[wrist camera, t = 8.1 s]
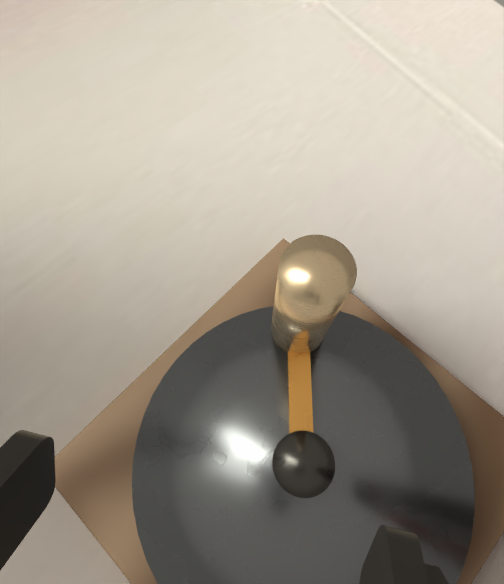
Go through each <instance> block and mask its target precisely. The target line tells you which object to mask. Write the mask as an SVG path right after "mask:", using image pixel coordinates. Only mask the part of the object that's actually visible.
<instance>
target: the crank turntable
mask: <svg viewBox="0 0 504 584" xmlns="http://www.w3.org/2000/svg"><path fill="white" fill-rule="evenodd" d="M356 275H357V268H356V263H355V260H354V258H353V256H352V254H351V253H350V251H349V250H348V249H347V248H346V247H345V246H344V245H343V244H342V243H340V242H339V241H337V240H335V239H333V238H331V237H327V236H323V235H308V236H304V237H301V238H298V239H296V240H295V241H293V242H292V243H290V244H289V245H288V246H287V247H286V249H285V250H284V251H283V253H282V255H281V258H280V261H279V267H278V275H277V283H276V292H275V300H274V306H271V307H265V308H259V309H256V310H253V311H250V312H246V313H243V314H240V315H238V316H236V317H233V318H231V319H229V320H227V321H225V322H222V323H221V324H219V325H218V326H216V327H214V328H213V329H211V330H209V331H208V332H206V333H205V334H204V335H202V336H201V337H200V338H199V339H197V340H196V341H195V342H194V343H192V344H191V345H190V346H189V347H188V348H187V349H186V350H185V351H184V352H183V353H182V354H181V355H180V356H179V357H178V358H177V359H176V360H175V362H174V363H173V364H172V366H171V367H170V368H169V370H168V371H167V372H166V374H165V375H164V376H163V378H162V379H161V381H160V383H159V385H158V386H157V388H156V390H155V391H154V393H153V395H152V397H151V399H150V402H149V404H148V406H147V409H146V411H145V413H144V415H143V419H142V422H141V425H140V429H139V432H138V435H137V440H136V446H135V451H134V457H133V468H132V498H133V511H134V516H135V521H136V527H137V532H138V536H139V539H140V542H141V545H142V548H143V552H144V555H145V558H146V561H147V563H148V565H149V567H150V569H151V571H152V573H153V575H154V577H155V580H156V582H157V584H360V576H361V570H362V566H363V564H364V561H365V559H366V556H367V554H368V552H369V549H370V547H371V544H372V542H373V540H374V537H375V535H376V533H377V530H378V528H379V526H380V525H386V526H390V527H394V528H397V529H401V530H405V531H409V532H413V533H415V534H416V535H417V537H418V539H419V542H420V546H421V550H422V555H423V559H424V563H425V564H429V565H433V566H437V567H439V568H440V570H441V571H442V573H443V575H444V576H445V578H446V580H447V581H448V583H449V584H457V581H458V579H459V577H460V574H461V572H462V570H463V567H464V565H465V561H466V557H467V553H468V550H469V546H470V542H471V537H472V530H473V522H474V508H475V489H474V480H473V471H472V464H471V459H470V455H469V451H468V447H467V442H466V439H465V437H464V434H463V431H462V428H461V425H460V423H459V420H458V418H457V416H456V414H455V412H454V410H453V408H452V406H451V404H450V401H449V399H448V398H447V396H446V395H445V393H444V391H443V390H442V388H441V387H440V385H439V384H438V382H437V381H436V379H435V378H434V377H433V375H432V374H431V373H430V372H429V371H428V369H427V368H426V367H425V366H424V364H423V363H422V362H421V361H420V360H419V359H418V358H417V357H416V356H415V355H414V354H413V353H412V352H411V351H410V350H409V349H408V348H407V347H405V346H404V345H403V344H402V343H400V342H399V341H398V340H396V339H395V338H394V337H393V336H391V335H390V334H388V333H387V332H385V331H383V330H382V329H380V328H378V327H377V326H375V325H373V324H372V323H370V322H367V321H365V320H363V319H361V318H359V317H356V316H354V315H351V314H348V313H345V312H342V311H340V309H341V307H342V305H343V304H344V302H345V300H346V298H347V297H348V295H349V293H350V291H351V290H352V288H353V286H354V284H355V281H356Z"/></svg>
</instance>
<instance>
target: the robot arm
mask: <svg viewBox="0 0 504 584" xmlns="http://www.w3.org/2000/svg"><path fill="white" fill-rule="evenodd" d="M55 482H56V478H55V456H54V441H53V439H52V438H51V437H47V436H44V435H40V434H36V433H32V432H28V431H24V430H21V431H18V432H16V433H15V434H14V435H13V436H12V437H11V438H10V439H9V440H8V441H7V442H6V443H5V444H4V445H3V446H2V447H1V448H0V570H1V569H2V567H3V566H4V565H5V563H6V562H7V561H8V559H9V558H10V556H11V555H12V554H13V552H14V551H15V550H16V548H17V547H18V545H19V544H20V543H21V541H22V540H23V539H24V537H25V536H26V534H27V533H28V532H29V530H30V529H31V528H32V526H33V525H34V523H35V522H36V521H37V519H38V518H39V516H40V515H41V514H42V512H43V511H44V510H45V508H46V507H47V505H48V503H49V501H50V499H51V497H52V494H53V491H54V488H55ZM360 584H449V583H448V581H447V580H446V578H445V576H444V575H443V573H442V571H441V570H440V568H439V567H437V566H433V565H429V564H425V563H424V559H423V555H422V550H421V546H420V542H419V539H418V537H417V535H416V534H415V533H413V532H409V531H405V530H401V529H397V528H394V527H390V526H386V525H380V526H379V528H378V530H377V533H376V535H375V537H374V540H373V542H372V544H371V547H370V549H369V552H368V554H367V556H366V559H365V561H364V564H363V566H362V570H361V576H360Z"/></svg>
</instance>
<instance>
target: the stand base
mask: <svg viewBox="0 0 504 584" xmlns="http://www.w3.org/2000/svg"><path fill="white" fill-rule="evenodd" d="M289 244H290V243H289V242H287V241H286V240H285V239H284V238H283V239H282V240H281V241H280V242H279V243H278V244H277V245H276V246H275V247H274V248H273V249H272V250H271V251H270V252H269V253H268V254H267V255H266V256H265V257H264V258H263V259H261V260H260V261H259V262H258V263H257V264H256V265H255V266H254V267H253V268H252V269H251V270H250V271H249V272H248V273H247V274H246V275H245V276H244V277H243V278H242V279H241V280H240V281H238V282H237V283H236V284H235V285H234V286H233V287H232V288H231V289H230V290H229V291H228V292H227V293H226V294H225V295H224V296H223V297H222V298H221V299H220V300H219V301H218V302H216V303H215V304H214V305H213V306H212V307H211V308H210V309H209V310H208V311H207V312H206V313H205V314H204V315H203V316H202V317H201V318H200V319H199V320H198V321H197V322H196V323H195V324H193V325H192V326H191V327H190V328H189V329H188V330H187V331H186V332H185V333H184V334H183V335H182V336H181V337H180V338H179V339H178V340H177V341H176V342H175V343H174V344H173V345H171V346H170V347H169V348H168V349H167V350H166V351H165V352H164V353H163V354H162V355H161V356H160V357H159V358H158V359H157V360H156V361H155V362H154V363H153V364H152V365H151V366H150V367H148V368H147V369H146V370H145V371H144V372H143V373H142V374H141V375H140V376H139V377H138V378H137V379H136V380H135V381H134V382H133V383H132V384H131V385H130V386H129V387H128V388H126V389H125V390H124V391H123V392H122V393H121V394H120V395H119V396H118V397H117V398H116V399H115V400H114V401H113V402H112V403H111V404H110V405H109V406H108V407H107V408H106V409H105V410H103V411H102V412H101V413H100V414H99V415H98V416H97V417H96V418H95V419H94V420H93V421H92V422H91V423H90V424H89V425H88V426H87V427H86V428H85V429H84V430H83V431H81V432H80V433H79V434H78V435H77V436H76V437H75V438H74V439H73V440H72V441H71V442H70V443H69V444H68V445H67V446H66V447H65V448H64V449H63V450H62V451H61V452H60V453H58V454H57V455H56V456H55V478H56V482H55V487H56V489H57V490H58V491H59V492H60V494H61V495H62V496H63V497H64V499H65V500H66V501H67V503H68V504H69V505H70V506H71V508H72V509H73V510H74V511H75V513H76V514H77V515H78V517H79V518H80V519H81V520H82V522H83V523H84V524H85V525H86V527H87V528H88V529H89V530H90V532H91V533H92V534H93V536H94V537H95V538H96V539H97V541H98V542H99V543H100V544H101V546H102V547H103V548H104V550H105V551H106V552H107V553H108V555H109V556H110V557H111V558H112V560H113V561H114V562H115V564H116V565H117V566H118V567H119V569H120V570H121V571H122V572H123V574H124V575H125V576H126V578H127V579H128V580H129V581H130V583H131V584H157V582H156V580H155V577H154V575H153V573H152V571H151V569H150V567H149V565H148V563H147V561H146V558H145V555H144V552H143V548H142V545H141V542H140V539H139V536H138V532H137V527H136V521H135V516H134V511H133V498H132V468H133V457H134V451H135V446H136V440H137V435H138V432H139V429H140V425H141V422H142V419H143V415H144V413H145V411H146V409H147V406H148V404H149V402H150V399H151V397H152V395H153V393H154V391H155V390H156V388H157V386H158V385H159V383H160V381H161V379H162V378H163V376H164V375H165V374H166V372H167V371H168V370H169V368H170V367H171V366H172V364H173V363H174V362H175V360H176V359H177V358H178V357H179V356H180V355H181V354H182V353H183V352H184V351H185V350H186V349H187V348H188V347H189V346H190V345H191V344H192V343H194V342H195V341H196V340H197V339H199V338H200V337H201V336H202V335H204V334H205V333H206V332H208V331H209V330H211V329H213V328H214V327H216V326H218V325H219V324H221V323H222V322H225V321H227V320H229V319H231V318H233V317H236V316H238V315H240V314H243V313H246V312H250V311H253V310H256V309H259V308H265V307H271V306H274V300H275V292H276V283H277V275H278V267H279V261H280V258H281V255H282V253H283V251H284V250H285V249H286V247H287V246H288V245H289ZM340 311H342V312H345V313H348V314H351V315H354V316H356V317H359V318H361V319H363V320H365V321H367V322H370V323H372V324H373V325H375V326H377V327H378V328H380V329H382V330H383V331H385V332H387V333H388V334H390V335H391V336H393V337H394V338H395V339H396V340H398V341H399V342H400V343H402V344H403V345H404V346H405V347H407V348H408V349H409V350H410V351H411V352H412V353H413V354H414V355H415V356H416V357H417V358H418V359H419V360H420V361H421V362H422V363H423V364H424V366H425V367H426V368H427V369H428V371H429V372H430V373H431V374H432V375H433V377H434V378H435V379H436V381H437V382H438V384H439V385H440V387H441V388H442V390H443V391H444V393H445V395H446V396H447V398H448V399H449V401H450V404H451V406H452V408H453V410H454V412H455V414H456V416H457V418H458V420H459V423H460V425H461V428H462V431H463V434H464V437H465V439H466V442H467V447H468V451H469V455H470V459H471V464H472V471H473V480H474V489H475V508H474V522H473V530H472V537H471V542H470V546H469V550H468V553H467V557H466V561H465V565H464V567H463V570H462V572H461V574H460V577H459V579H458V581H457V584H471V583H472V581H473V579H474V578H475V576H476V575H477V573H478V572H479V570H480V568H481V567H482V565H483V564H484V562H485V561H486V559H487V557H488V556H489V554H490V553H491V551H492V549H493V548H494V546H495V545H496V543H497V542H498V540H499V538H500V537H501V535H502V534H503V532H504V417H503V416H502V415H501V414H500V413H498V412H497V411H496V410H495V409H494V408H492V407H491V406H490V405H489V404H487V403H486V402H485V401H484V400H482V399H481V398H480V397H479V396H477V395H476V394H475V393H474V392H473V391H471V390H470V389H469V388H468V387H466V386H465V385H464V384H463V383H461V382H460V381H459V380H458V379H456V378H455V377H454V376H453V375H452V374H450V373H449V372H448V371H447V370H445V369H444V368H443V367H442V366H440V365H439V364H438V363H437V362H435V361H434V360H433V359H432V358H431V357H429V356H428V355H427V354H426V353H424V352H423V351H422V350H421V349H419V348H418V347H417V346H416V345H414V344H413V343H412V342H411V341H410V340H408V339H407V338H406V337H405V336H403V335H402V334H401V333H400V332H398V331H397V330H396V329H395V328H394V327H392V326H391V325H390V324H389V323H387V322H386V321H385V320H384V319H382V318H381V317H380V316H379V315H377V314H376V313H375V312H374V311H373V310H371V309H370V308H369V307H368V306H366V305H365V304H364V303H363V302H361V301H360V300H359V299H358V298H356V297H355V296H354V295H353V294H352V293H349V295H348V297H347V298H346V300H345V302H344V304H343V305H342V307H341V309H340Z"/></svg>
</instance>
